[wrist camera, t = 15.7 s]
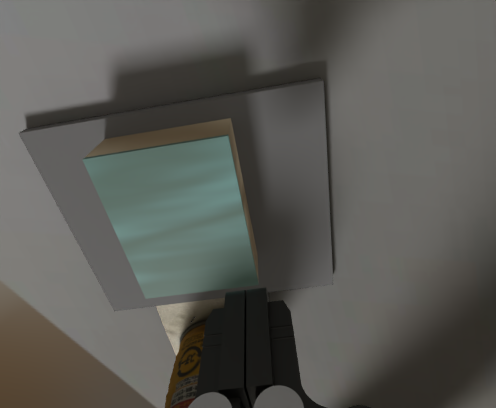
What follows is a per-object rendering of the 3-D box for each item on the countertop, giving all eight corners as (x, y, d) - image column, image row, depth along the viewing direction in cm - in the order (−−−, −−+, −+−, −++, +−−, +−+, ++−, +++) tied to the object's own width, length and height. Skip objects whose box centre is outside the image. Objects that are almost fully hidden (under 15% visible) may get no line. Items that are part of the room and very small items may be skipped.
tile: (82, 159, 13) (145, 298, 17) (228, 135, 13) (258, 284, 17) (104, 138, 15) (156, 267, 19) (230, 117, 15) (257, 254, 19)
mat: (331, 277, 21) (333, 284, 20) (117, 303, 22) (114, 311, 21) (320, 77, 15) (323, 80, 14) (25, 129, 16) (18, 133, 15)
